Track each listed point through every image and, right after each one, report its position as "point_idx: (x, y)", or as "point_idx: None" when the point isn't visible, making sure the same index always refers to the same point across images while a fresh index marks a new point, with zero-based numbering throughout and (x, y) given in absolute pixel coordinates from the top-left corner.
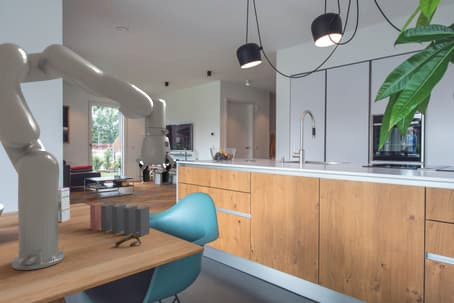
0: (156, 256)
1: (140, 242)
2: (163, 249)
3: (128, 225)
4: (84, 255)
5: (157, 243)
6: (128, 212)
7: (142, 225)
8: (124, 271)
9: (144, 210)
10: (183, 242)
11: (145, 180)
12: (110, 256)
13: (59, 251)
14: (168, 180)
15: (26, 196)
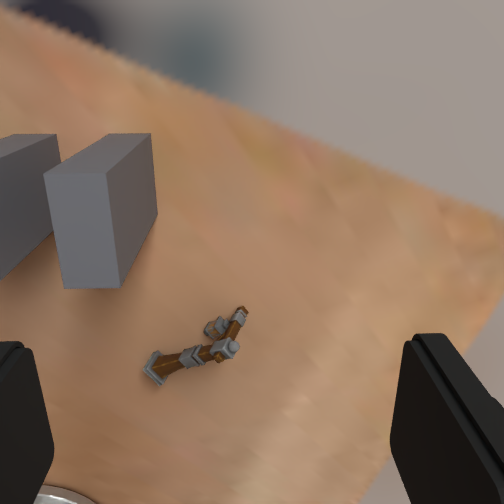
0: (391, 381)
1: (245, 316)
2: (380, 315)
3: (46, 235)
4: (128, 460)
5: (309, 264)
6: (6, 273)
7: (144, 219)
8: (357, 493)
9: (118, 234)
10: (432, 203)
11: (46, 454)
12: (224, 436)
13: (42, 502)
14: (450, 343)
15: None
